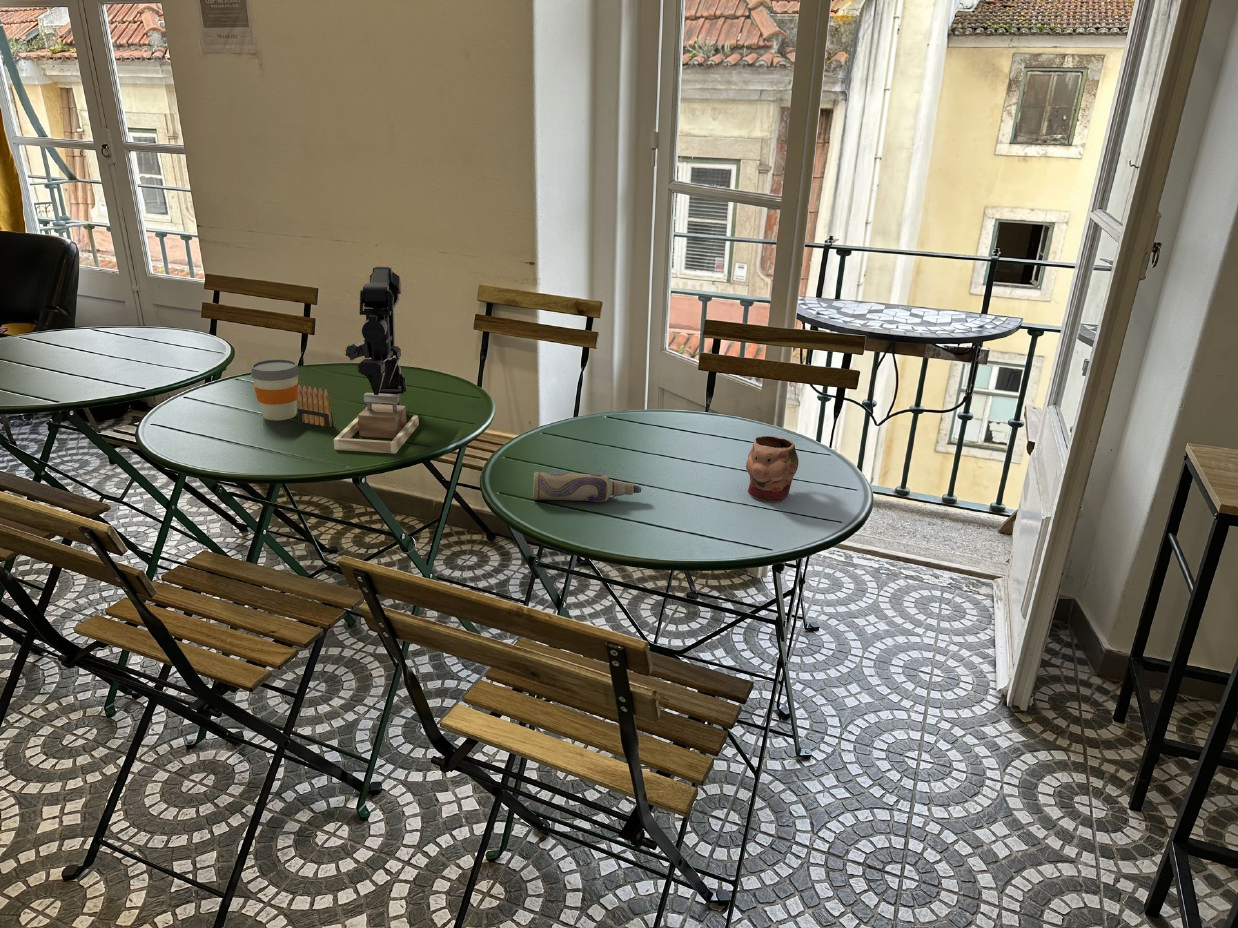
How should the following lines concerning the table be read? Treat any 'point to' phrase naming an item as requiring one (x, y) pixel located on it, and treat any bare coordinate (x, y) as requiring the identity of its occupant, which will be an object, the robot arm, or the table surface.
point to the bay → (347, 443)
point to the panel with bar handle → (382, 416)
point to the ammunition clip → (313, 408)
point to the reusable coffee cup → (276, 388)
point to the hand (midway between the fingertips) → (381, 389)
